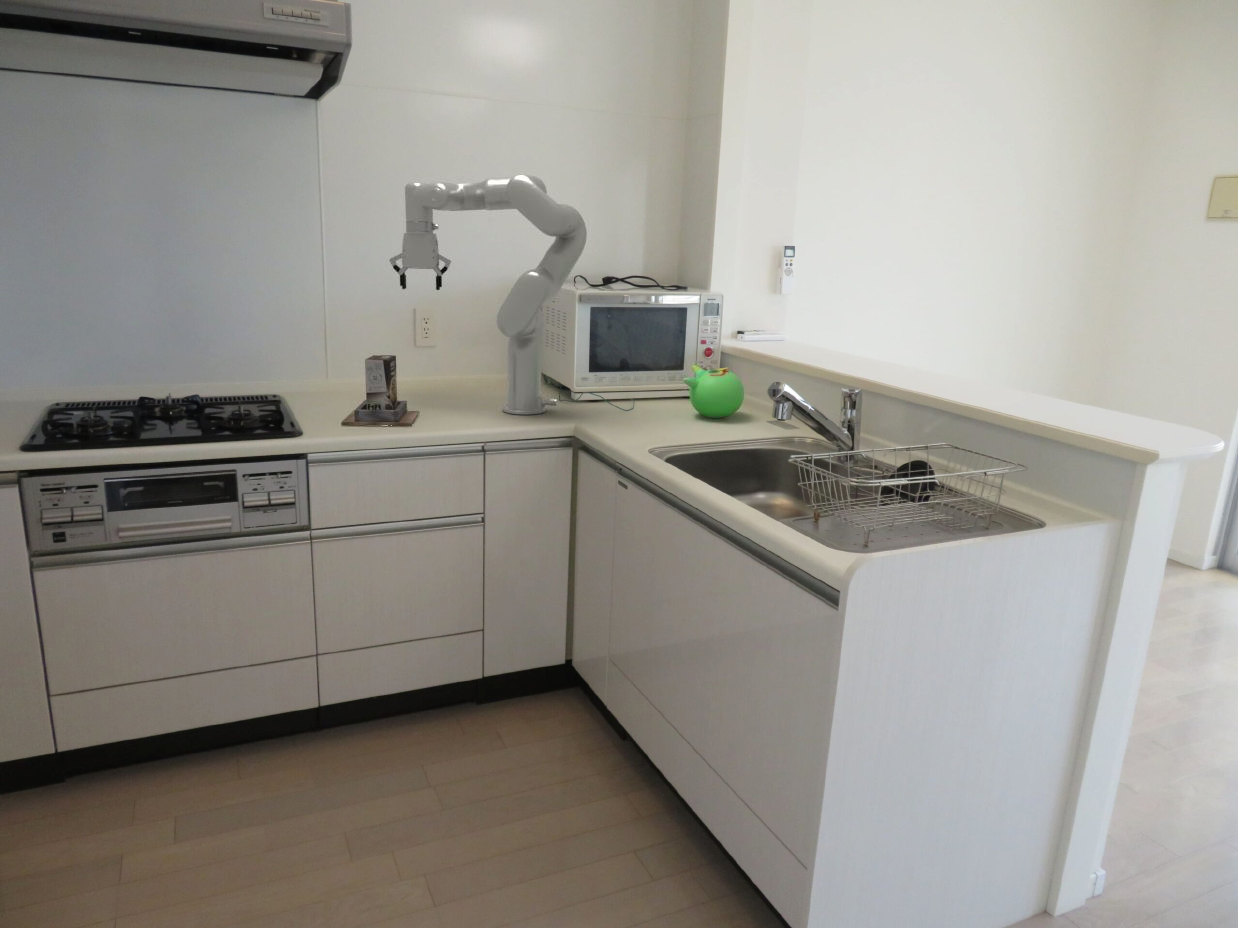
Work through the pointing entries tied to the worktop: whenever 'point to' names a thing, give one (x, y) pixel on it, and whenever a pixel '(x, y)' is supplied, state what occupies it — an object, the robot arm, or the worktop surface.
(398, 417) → the dock
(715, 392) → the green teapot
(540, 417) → the worktop surface
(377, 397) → the coffee box
